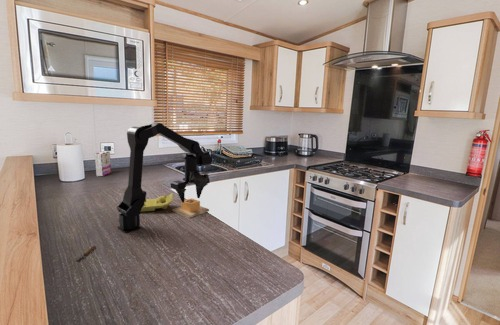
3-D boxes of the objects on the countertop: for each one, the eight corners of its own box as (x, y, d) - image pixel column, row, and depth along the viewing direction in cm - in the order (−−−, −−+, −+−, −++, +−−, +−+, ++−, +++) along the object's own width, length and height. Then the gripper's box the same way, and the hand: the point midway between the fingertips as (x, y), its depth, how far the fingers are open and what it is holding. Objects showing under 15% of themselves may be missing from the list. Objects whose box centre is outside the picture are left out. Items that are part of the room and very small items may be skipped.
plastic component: (126, 208, 120) (131, 193, 128) (130, 219, 125) (134, 204, 133) (171, 205, 123) (173, 190, 131) (173, 216, 127) (175, 201, 135)
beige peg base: (189, 217, 118) (189, 207, 117) (172, 211, 125) (172, 201, 124) (208, 211, 127) (209, 201, 127) (192, 205, 135) (192, 195, 134)
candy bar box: (104, 173, 195) (103, 150, 192) (111, 173, 195) (110, 151, 192) (95, 176, 184) (94, 153, 181) (102, 176, 184) (101, 153, 181)
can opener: (93, 248, 89) (92, 245, 89) (99, 249, 89) (99, 246, 89) (71, 263, 80) (71, 259, 80) (78, 264, 80) (78, 260, 80)
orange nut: (189, 212, 122) (190, 204, 121) (181, 209, 125) (181, 201, 125) (199, 209, 127) (199, 201, 126) (191, 206, 130) (191, 198, 130)
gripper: (186, 173, 111) (186, 209, 113) (217, 167, 125) (217, 199, 128) (169, 169, 117) (170, 203, 120) (201, 164, 132) (201, 194, 135)
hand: (190, 200), depth 125 cm, fingers open, 9 cm apart
